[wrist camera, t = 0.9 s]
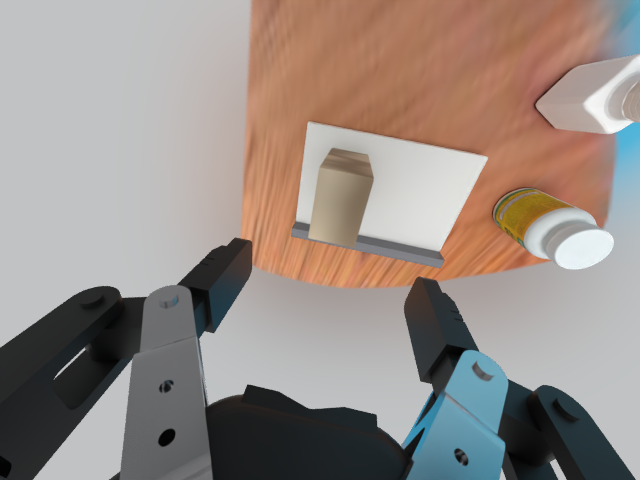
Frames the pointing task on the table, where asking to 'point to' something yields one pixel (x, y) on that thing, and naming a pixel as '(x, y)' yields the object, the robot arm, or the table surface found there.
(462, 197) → the shelf
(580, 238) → the supplement bottle
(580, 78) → the pepper shaker
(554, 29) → the table surface
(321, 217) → the tea box
